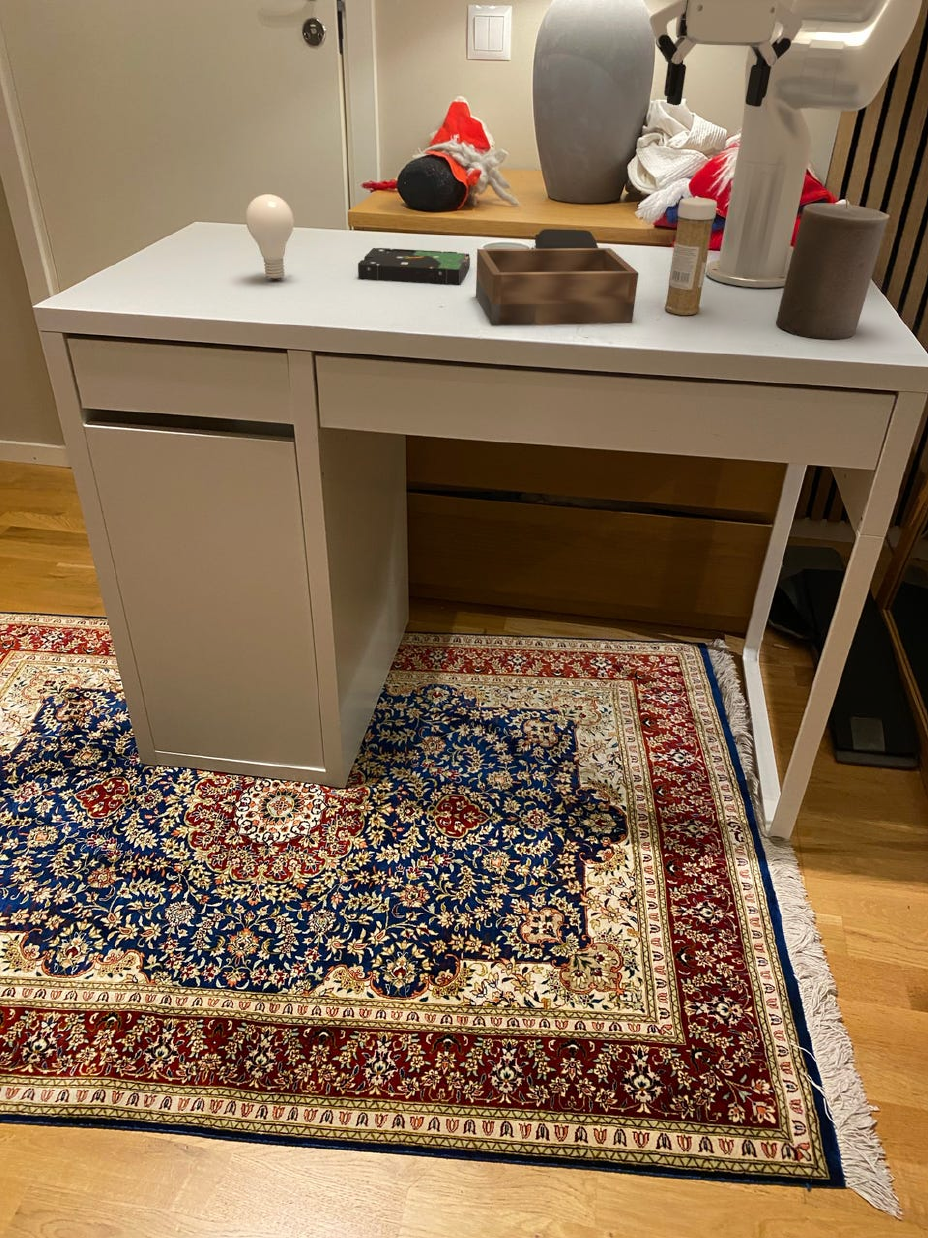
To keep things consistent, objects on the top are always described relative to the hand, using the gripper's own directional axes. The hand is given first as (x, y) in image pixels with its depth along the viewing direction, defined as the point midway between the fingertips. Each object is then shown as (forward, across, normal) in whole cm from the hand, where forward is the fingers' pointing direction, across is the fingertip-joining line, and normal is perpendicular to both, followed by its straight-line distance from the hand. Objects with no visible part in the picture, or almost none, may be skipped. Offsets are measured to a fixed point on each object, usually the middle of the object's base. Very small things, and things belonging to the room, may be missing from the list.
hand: (713, 104), depth 104 cm
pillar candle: (+24, -15, +8) cm, 29 cm away
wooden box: (+24, +17, -2) cm, 29 cm away
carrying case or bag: (+24, +8, -31) cm, 40 cm away
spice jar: (+24, 0, 0) cm, 24 cm away
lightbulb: (+24, +53, -18) cm, 61 cm away
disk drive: (+24, +33, -21) cm, 46 cm away
